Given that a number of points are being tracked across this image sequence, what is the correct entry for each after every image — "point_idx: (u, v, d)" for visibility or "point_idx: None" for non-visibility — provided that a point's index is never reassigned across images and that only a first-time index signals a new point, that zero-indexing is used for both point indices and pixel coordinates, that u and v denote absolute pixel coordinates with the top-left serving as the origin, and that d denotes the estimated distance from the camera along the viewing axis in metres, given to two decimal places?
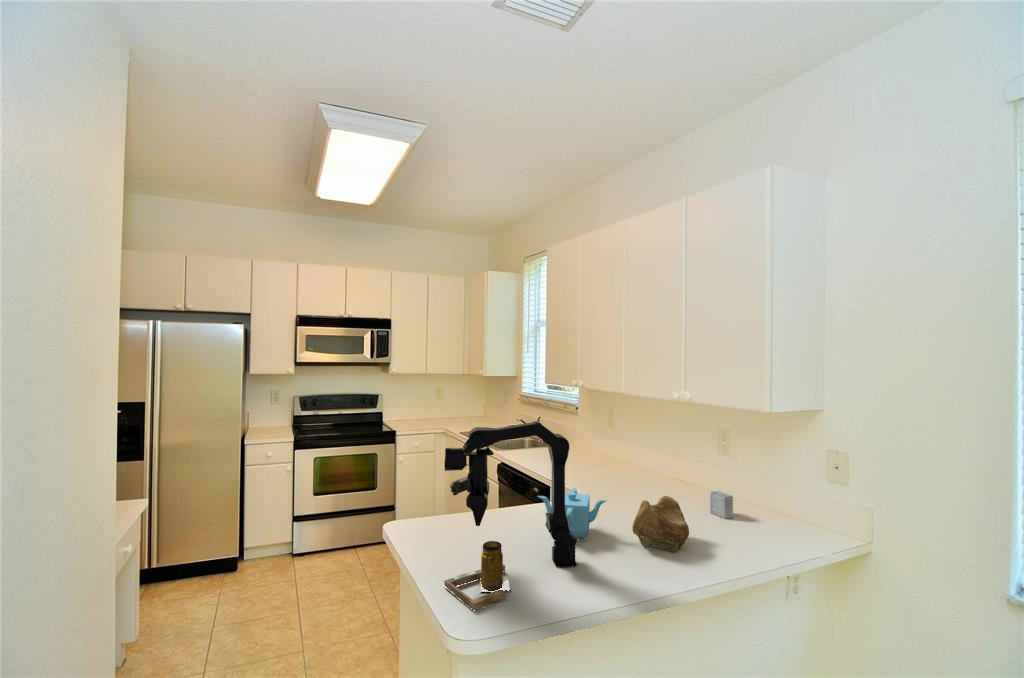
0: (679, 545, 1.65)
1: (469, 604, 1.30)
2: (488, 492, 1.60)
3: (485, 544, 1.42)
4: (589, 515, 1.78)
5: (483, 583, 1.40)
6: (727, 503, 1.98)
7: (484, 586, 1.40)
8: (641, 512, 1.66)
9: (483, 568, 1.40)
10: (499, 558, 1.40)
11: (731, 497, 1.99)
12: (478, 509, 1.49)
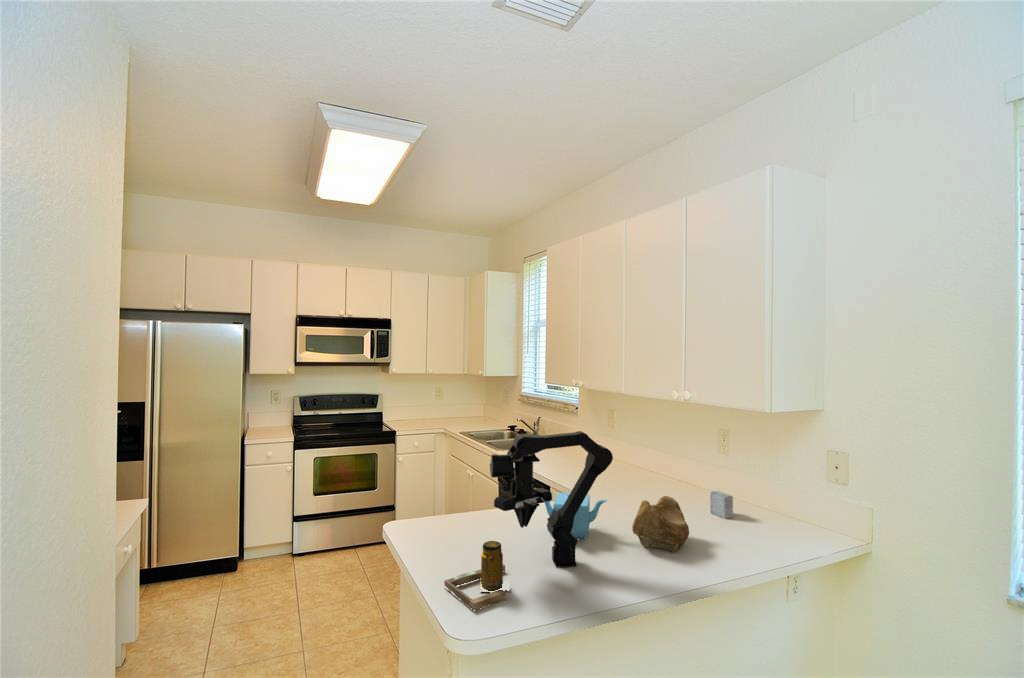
0: (679, 545, 1.65)
1: (469, 604, 1.30)
2: (533, 505, 1.54)
3: (485, 544, 1.42)
4: (589, 515, 1.78)
5: (483, 583, 1.40)
6: (727, 503, 1.98)
7: (484, 586, 1.40)
8: (641, 512, 1.66)
9: (483, 568, 1.40)
10: (499, 558, 1.40)
11: (731, 497, 1.99)
12: (519, 511, 1.54)
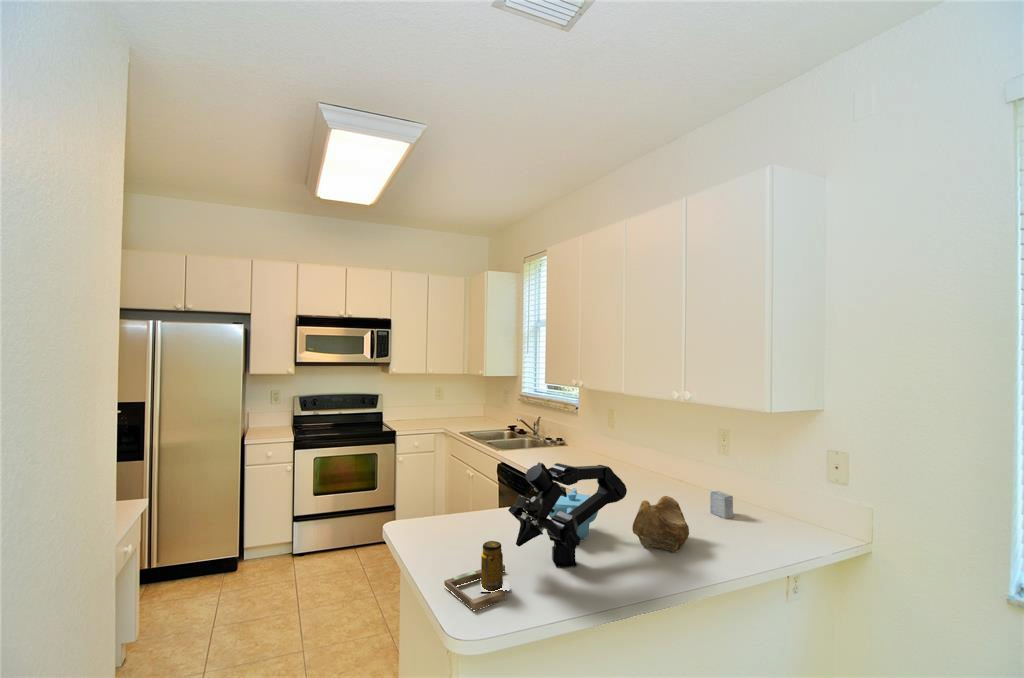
0: (679, 545, 1.65)
1: (469, 604, 1.30)
2: None
3: (485, 544, 1.42)
4: None
5: (483, 583, 1.40)
6: (727, 503, 1.98)
7: (484, 586, 1.40)
8: (641, 512, 1.66)
9: (483, 568, 1.40)
10: (499, 558, 1.40)
11: (731, 497, 1.99)
12: (530, 531, 1.48)
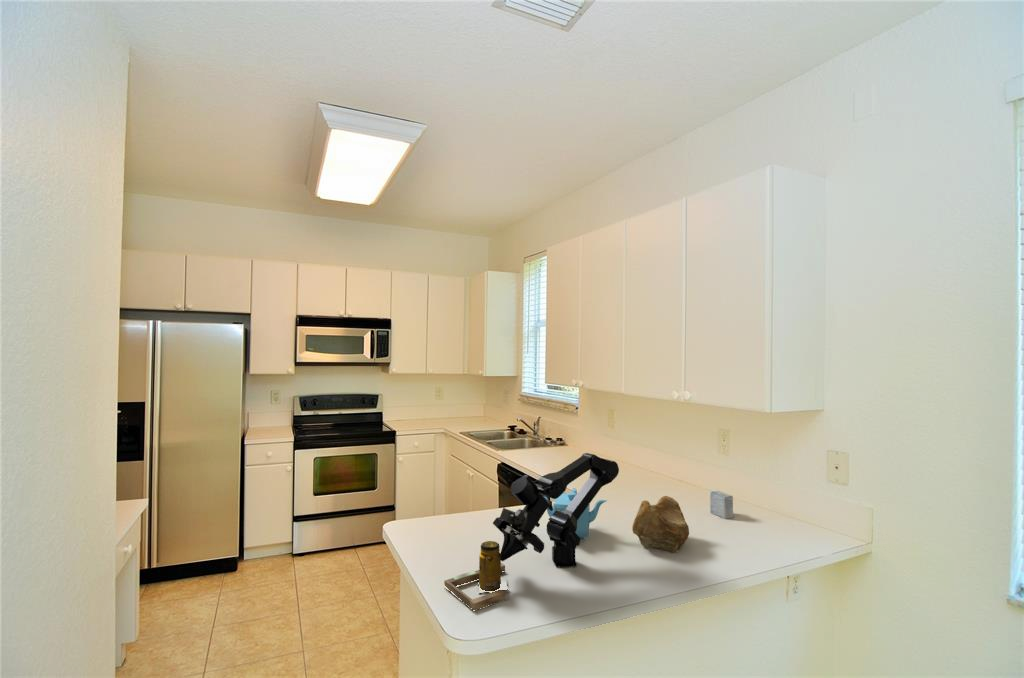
0: (679, 545, 1.65)
1: (469, 604, 1.30)
2: None
3: (483, 544, 1.42)
4: (589, 515, 1.78)
5: (481, 583, 1.40)
6: (727, 503, 1.98)
7: (482, 586, 1.39)
8: (641, 512, 1.66)
9: (481, 568, 1.40)
10: (497, 558, 1.40)
11: (731, 497, 1.99)
12: (515, 546, 1.44)
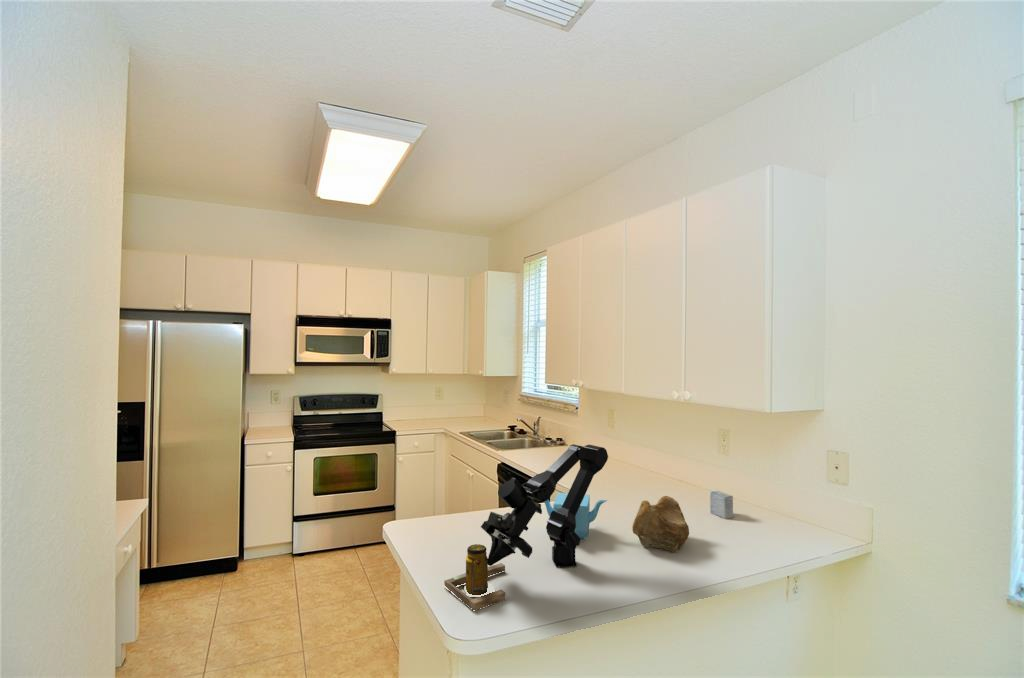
0: (679, 545, 1.65)
1: (469, 604, 1.30)
2: None
3: (470, 548, 1.39)
4: (589, 515, 1.78)
5: (468, 588, 1.37)
6: (727, 503, 1.98)
7: (470, 591, 1.37)
8: (641, 512, 1.66)
9: (468, 573, 1.37)
10: (484, 561, 1.38)
11: (731, 497, 1.99)
12: (502, 550, 1.42)
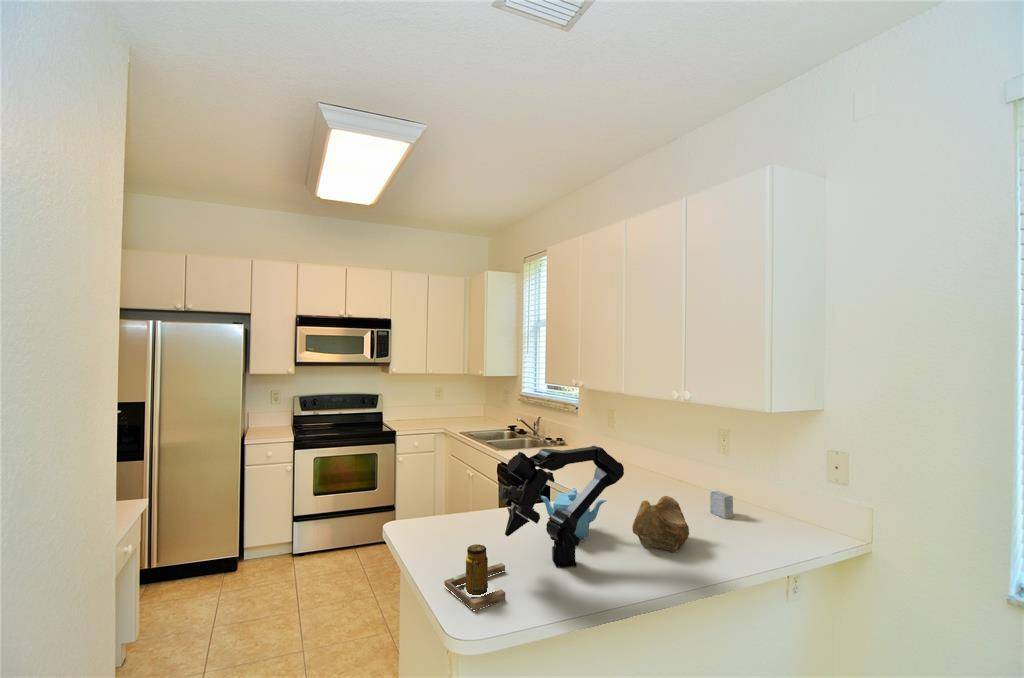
0: (679, 545, 1.65)
1: (469, 604, 1.30)
2: None
3: (470, 548, 1.39)
4: (589, 515, 1.78)
5: (468, 588, 1.37)
6: (727, 503, 1.98)
7: (470, 591, 1.37)
8: (641, 512, 1.66)
9: (468, 573, 1.37)
10: (484, 561, 1.38)
11: (731, 497, 1.99)
12: (517, 520, 1.48)
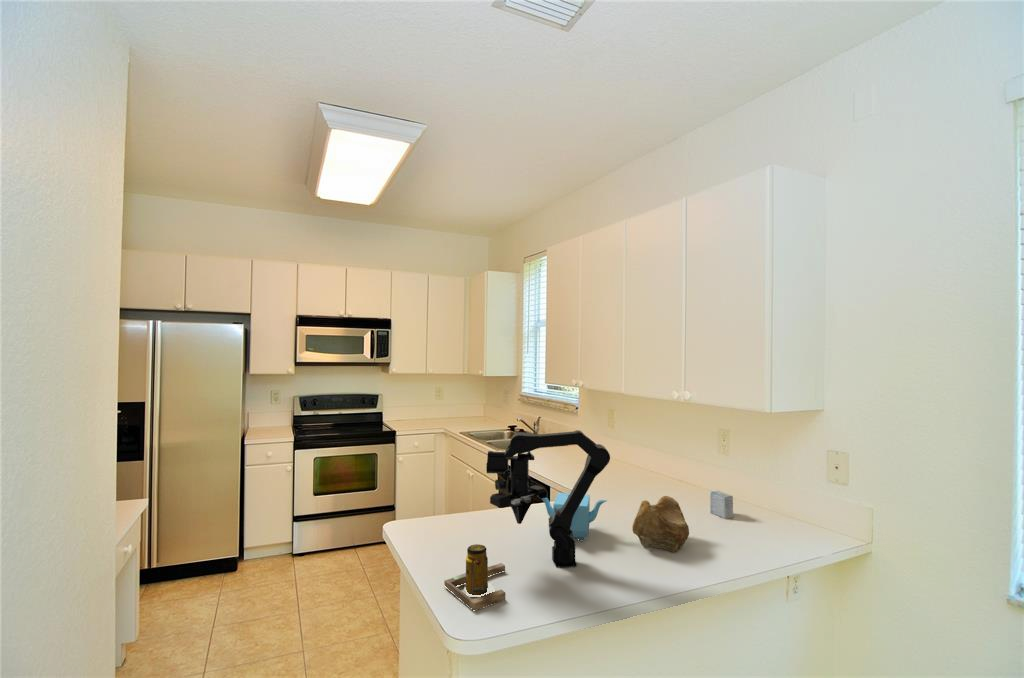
0: (679, 545, 1.65)
1: (469, 604, 1.30)
2: (527, 503, 1.56)
3: (470, 548, 1.39)
4: (589, 515, 1.78)
5: (468, 588, 1.37)
6: (727, 503, 1.98)
7: (470, 591, 1.37)
8: (641, 512, 1.66)
9: (468, 573, 1.37)
10: (484, 561, 1.38)
11: (731, 497, 1.99)
12: (516, 507, 1.57)
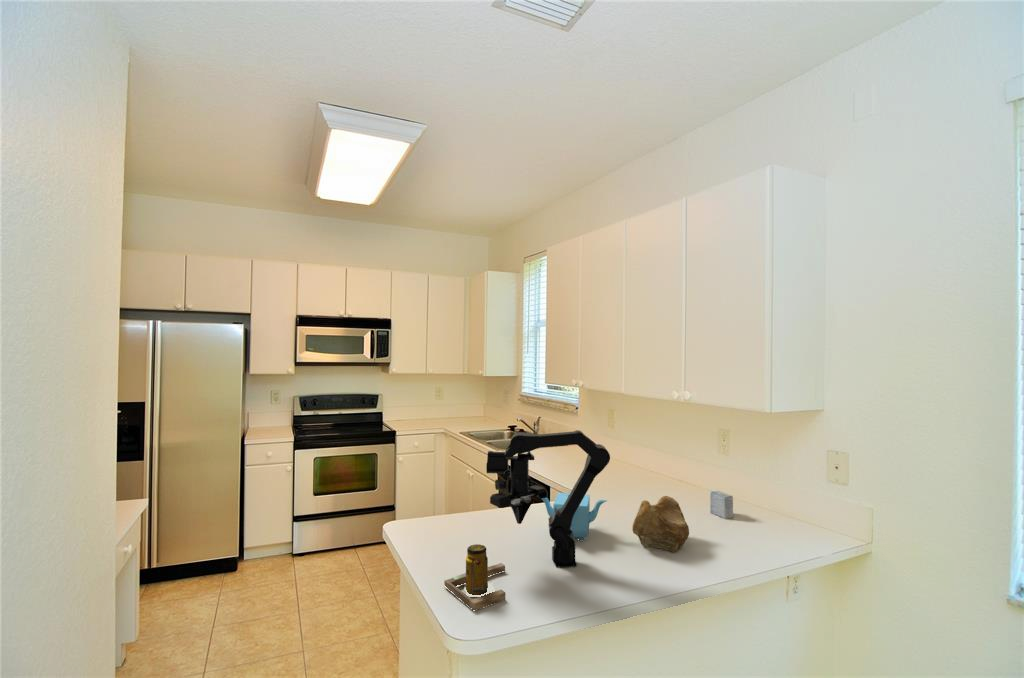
0: (679, 545, 1.65)
1: (469, 604, 1.30)
2: (527, 503, 1.56)
3: (470, 548, 1.39)
4: (589, 515, 1.78)
5: (468, 588, 1.37)
6: (727, 503, 1.98)
7: (470, 591, 1.37)
8: (641, 512, 1.66)
9: (468, 573, 1.37)
10: (484, 561, 1.38)
11: (731, 497, 1.99)
12: (516, 507, 1.57)
